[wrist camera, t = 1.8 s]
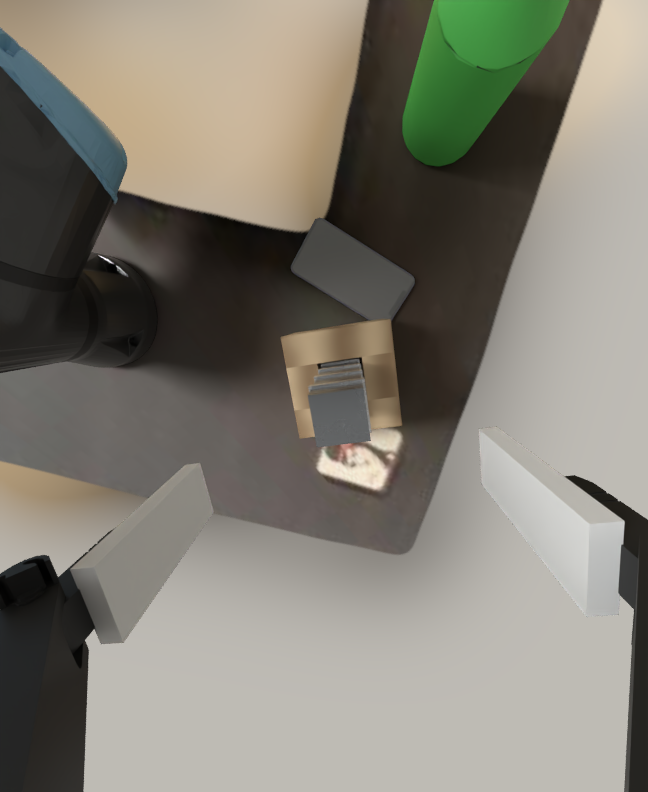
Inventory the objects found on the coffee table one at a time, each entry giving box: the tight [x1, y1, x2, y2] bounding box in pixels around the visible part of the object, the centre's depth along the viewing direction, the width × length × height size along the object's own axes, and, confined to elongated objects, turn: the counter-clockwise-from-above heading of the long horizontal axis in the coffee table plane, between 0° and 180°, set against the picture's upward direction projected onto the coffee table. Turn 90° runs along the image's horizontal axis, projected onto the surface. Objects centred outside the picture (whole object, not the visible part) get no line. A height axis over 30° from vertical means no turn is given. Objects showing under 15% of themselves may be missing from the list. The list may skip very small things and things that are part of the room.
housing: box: [281, 319, 402, 438], centre depth 39 cm, size 12×12×11 cm
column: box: [308, 358, 371, 447], centre depth 33 cm, size 4×4×22 cm
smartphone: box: [291, 218, 415, 321], centre depth 41 cm, size 8×1×15 cm
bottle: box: [402, 0, 569, 166], centre depth 24 cm, size 9×9×25 cm
